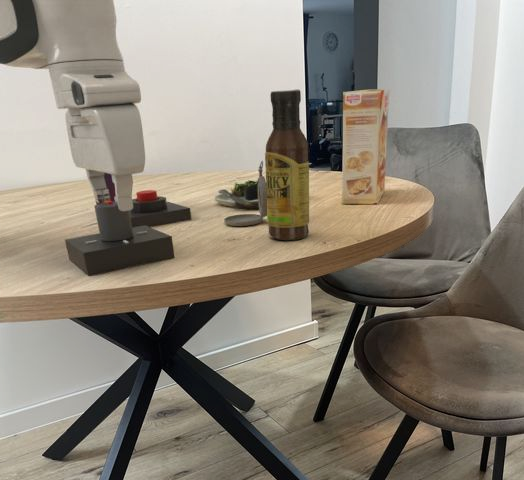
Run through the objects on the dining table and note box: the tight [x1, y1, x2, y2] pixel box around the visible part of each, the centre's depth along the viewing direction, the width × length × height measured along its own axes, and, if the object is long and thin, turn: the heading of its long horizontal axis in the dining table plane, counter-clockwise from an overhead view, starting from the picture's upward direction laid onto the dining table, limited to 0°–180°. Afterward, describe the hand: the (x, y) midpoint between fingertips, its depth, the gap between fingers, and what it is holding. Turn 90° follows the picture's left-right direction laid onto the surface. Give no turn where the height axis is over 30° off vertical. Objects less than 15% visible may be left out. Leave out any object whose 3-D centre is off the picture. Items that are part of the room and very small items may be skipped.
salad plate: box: [214, 179, 259, 211], centre depth 106 cm, size 19×18×5 cm
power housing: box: [129, 195, 192, 228], centre depth 94 cm, size 12×10×4 cm
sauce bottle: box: [264, 88, 310, 241], centre depth 73 cm, size 6×6×20 cm
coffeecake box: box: [341, 88, 390, 205], centre depth 99 cm, size 15×7×20 cm, turn 162°
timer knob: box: [93, 200, 133, 241], centre depth 69 cm, size 4×4×5 cm
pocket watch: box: [223, 160, 267, 227], centre depth 86 cm, size 8×8×10 cm
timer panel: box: [64, 225, 175, 277], centre depth 71 cm, size 12×10×3 cm
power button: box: [136, 189, 158, 202], centre depth 93 cm, size 4×4×2 cm
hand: (113, 206), depth 69 cm, fingers open, 8 cm apart
